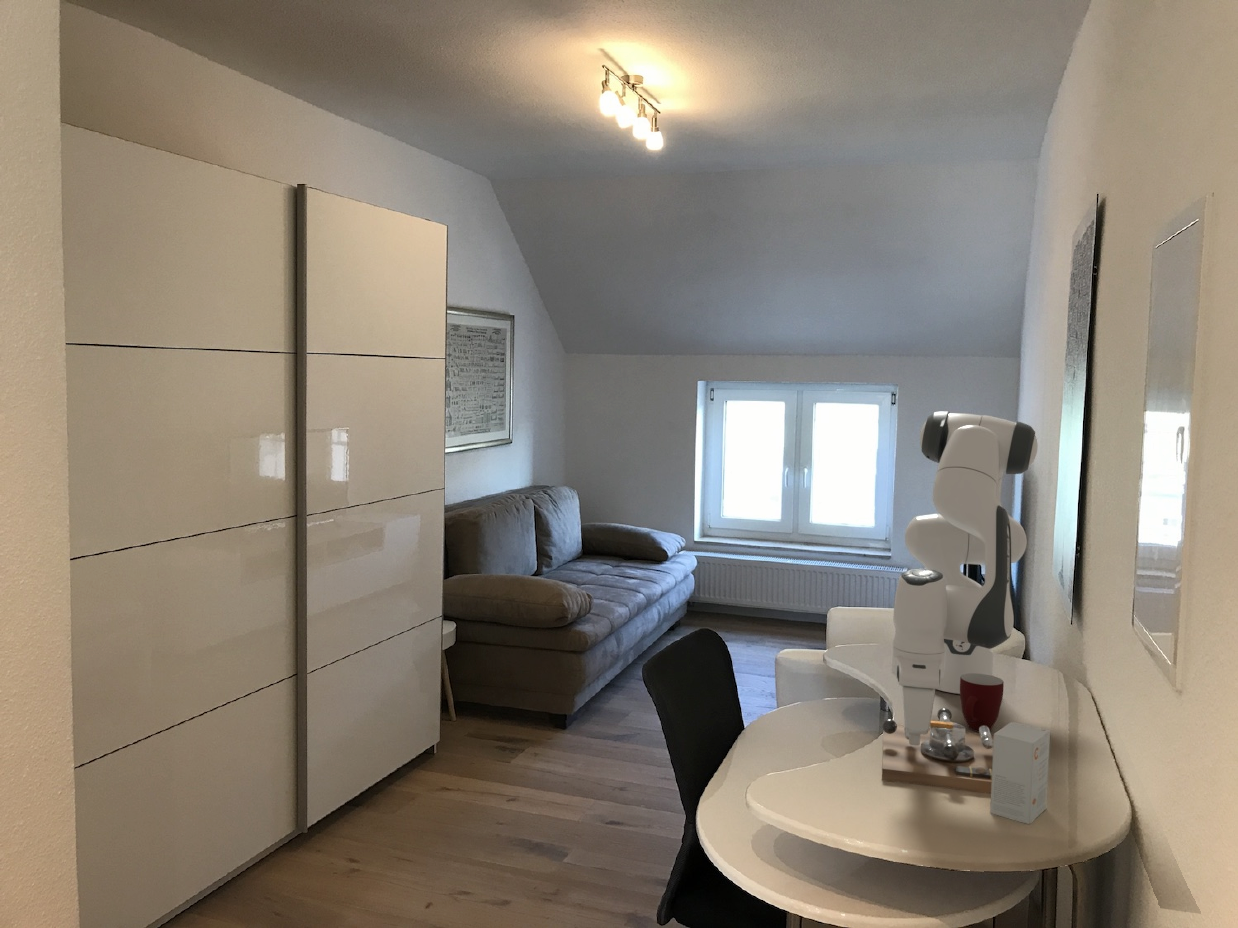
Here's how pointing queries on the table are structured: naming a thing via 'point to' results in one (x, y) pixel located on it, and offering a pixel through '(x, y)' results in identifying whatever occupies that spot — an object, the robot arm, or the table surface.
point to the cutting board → (936, 764)
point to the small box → (1020, 772)
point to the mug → (980, 699)
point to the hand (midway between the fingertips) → (914, 742)
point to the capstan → (945, 739)
